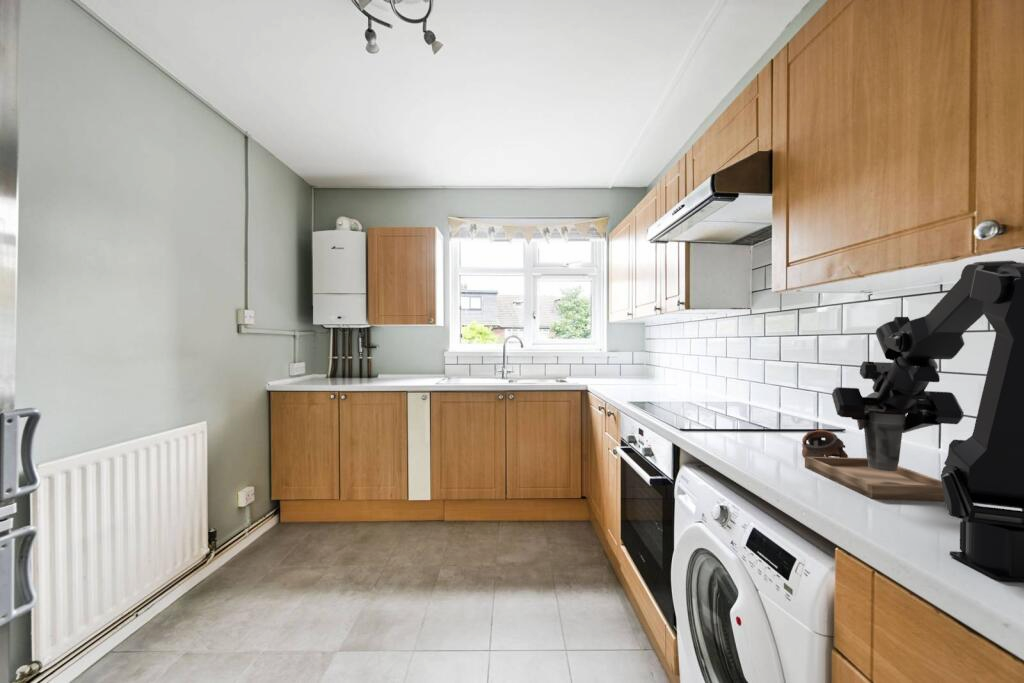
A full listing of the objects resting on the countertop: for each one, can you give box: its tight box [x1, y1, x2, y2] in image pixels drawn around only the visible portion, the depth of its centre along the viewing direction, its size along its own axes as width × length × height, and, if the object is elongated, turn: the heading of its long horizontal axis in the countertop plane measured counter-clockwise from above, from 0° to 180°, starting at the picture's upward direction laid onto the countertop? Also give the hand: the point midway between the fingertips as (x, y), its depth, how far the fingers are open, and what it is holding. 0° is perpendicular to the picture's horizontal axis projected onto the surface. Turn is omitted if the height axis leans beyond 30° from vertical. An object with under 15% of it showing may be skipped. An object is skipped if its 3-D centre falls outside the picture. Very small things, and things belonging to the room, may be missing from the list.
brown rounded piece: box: [801, 429, 849, 459], centre depth 109 cm, size 12×10×8 cm
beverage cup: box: [863, 391, 908, 471], centre depth 88 cm, size 7×7×20 cm
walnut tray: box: [804, 456, 945, 502], centre depth 90 cm, size 20×16×2 cm
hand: (880, 429), depth 89 cm, fingers closed on beverage cup, 7 cm apart
